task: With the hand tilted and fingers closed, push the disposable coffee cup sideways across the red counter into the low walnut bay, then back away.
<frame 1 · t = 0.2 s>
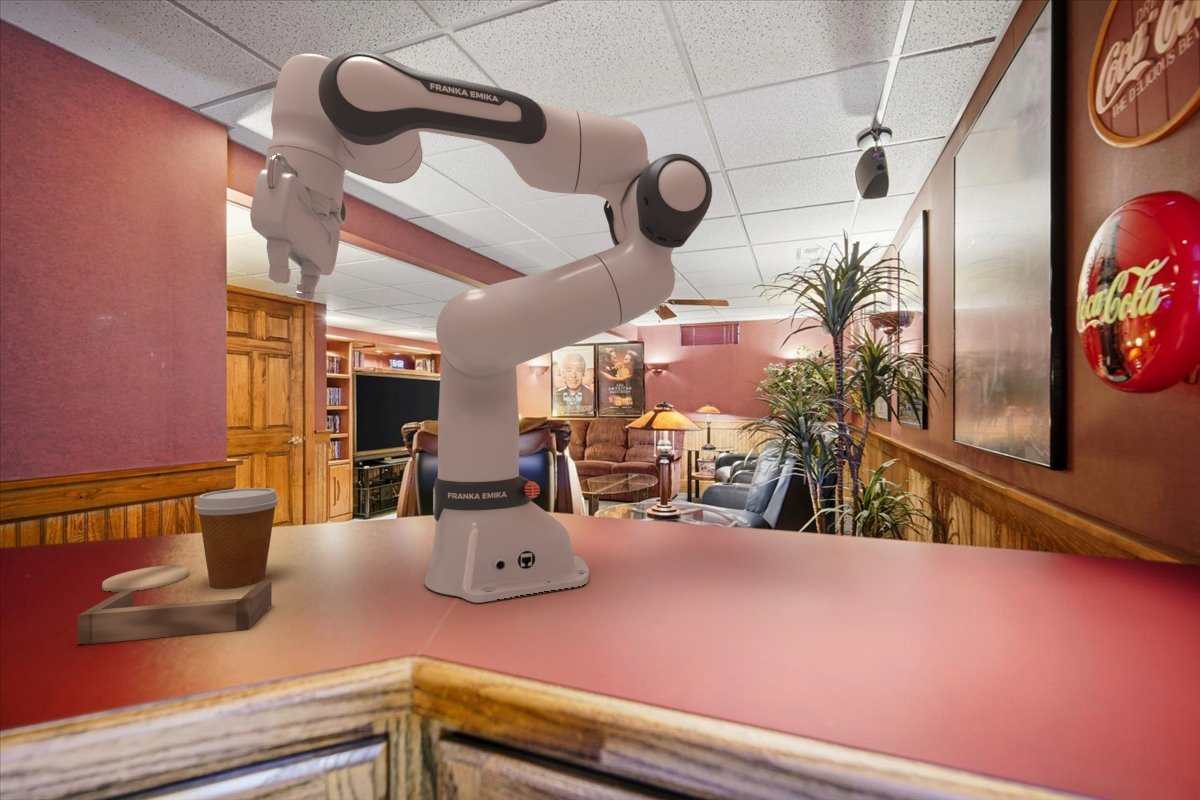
hand: (292, 291, 67), 39 cm above the bar counter, tool pointing down, fingers open, 8 cm apart
cork coaster: (147, 580, 72), on the bar counter
disposable coffee cup: (238, 582, 72), on the bar counter
walnut bay: (187, 620, 59), on the bar counter
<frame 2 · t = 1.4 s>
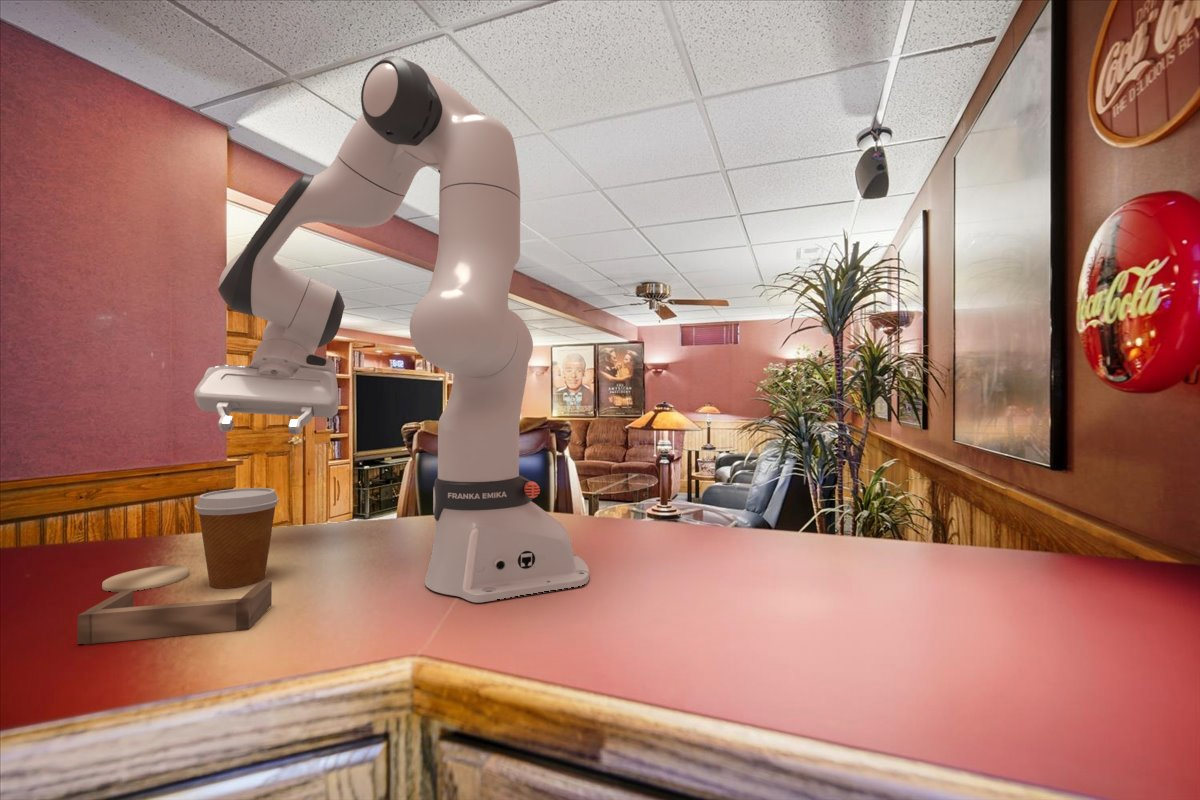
hand: (259, 430, 82), 20 cm above the bar counter, tool tilted 45°, fingers open, 8 cm apart
nothing on the bar counter moved.
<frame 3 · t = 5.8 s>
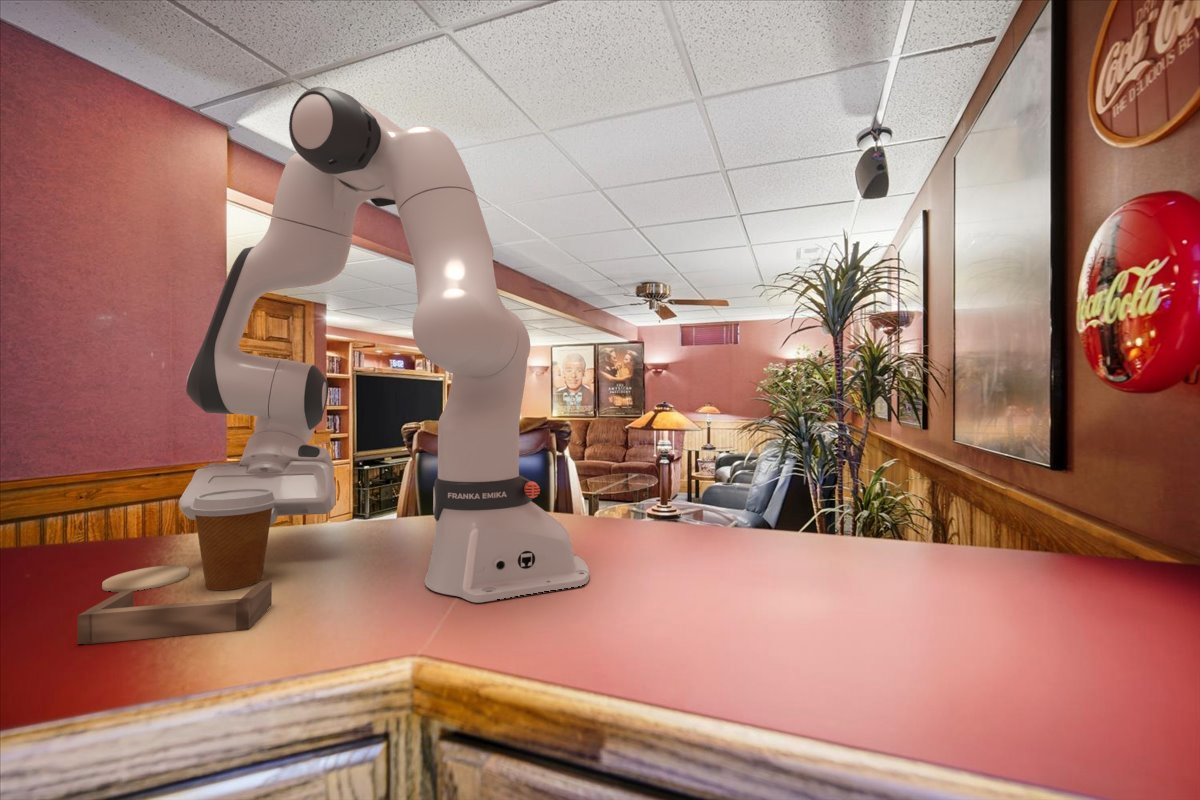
hand: (248, 539, 75), 5 cm above the bar counter, tool tilted 45°, fingers closed, pressing on disposable coffee cup
disposable coffee cup: (234, 583, 71), on the bar counter, touching gripper
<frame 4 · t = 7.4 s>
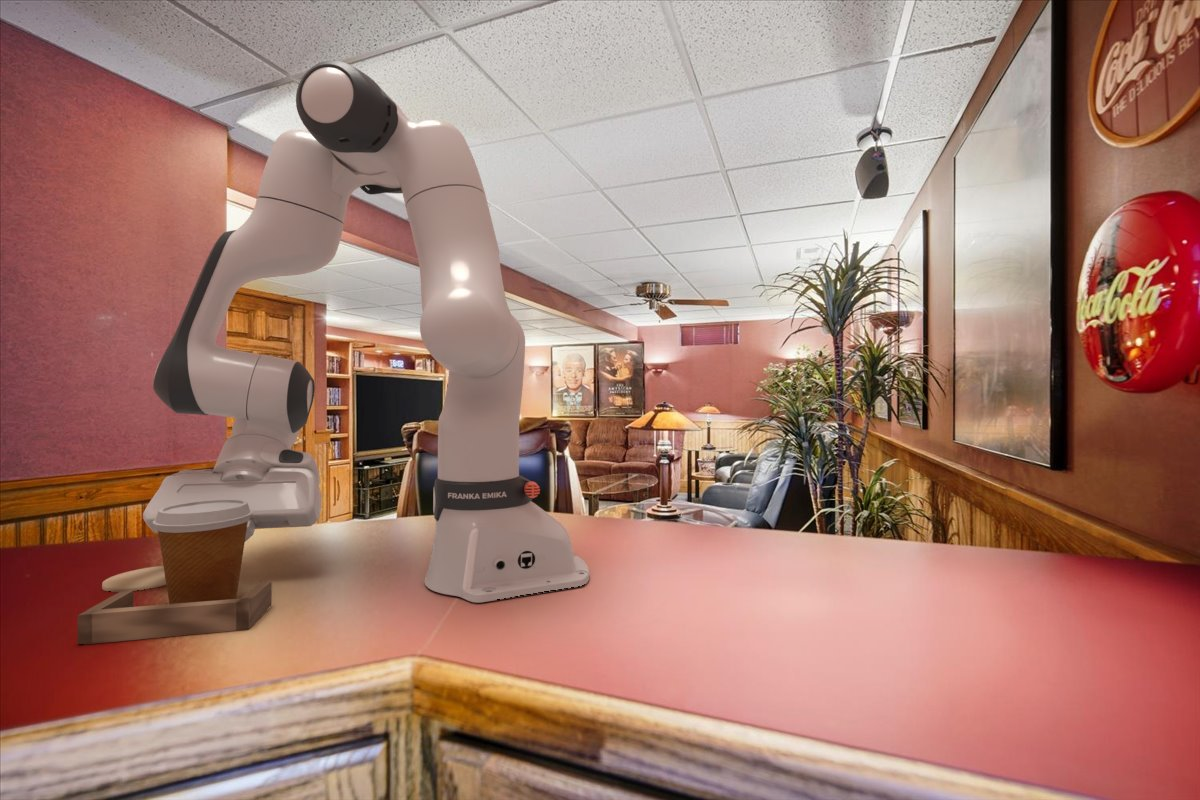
hand: (220, 555, 67), 5 cm above the bar counter, tool tilted 45°, fingers closed, pressing on disposable coffee cup
disposable coffee cup: (204, 607, 63), on the bar counter, touching gripper
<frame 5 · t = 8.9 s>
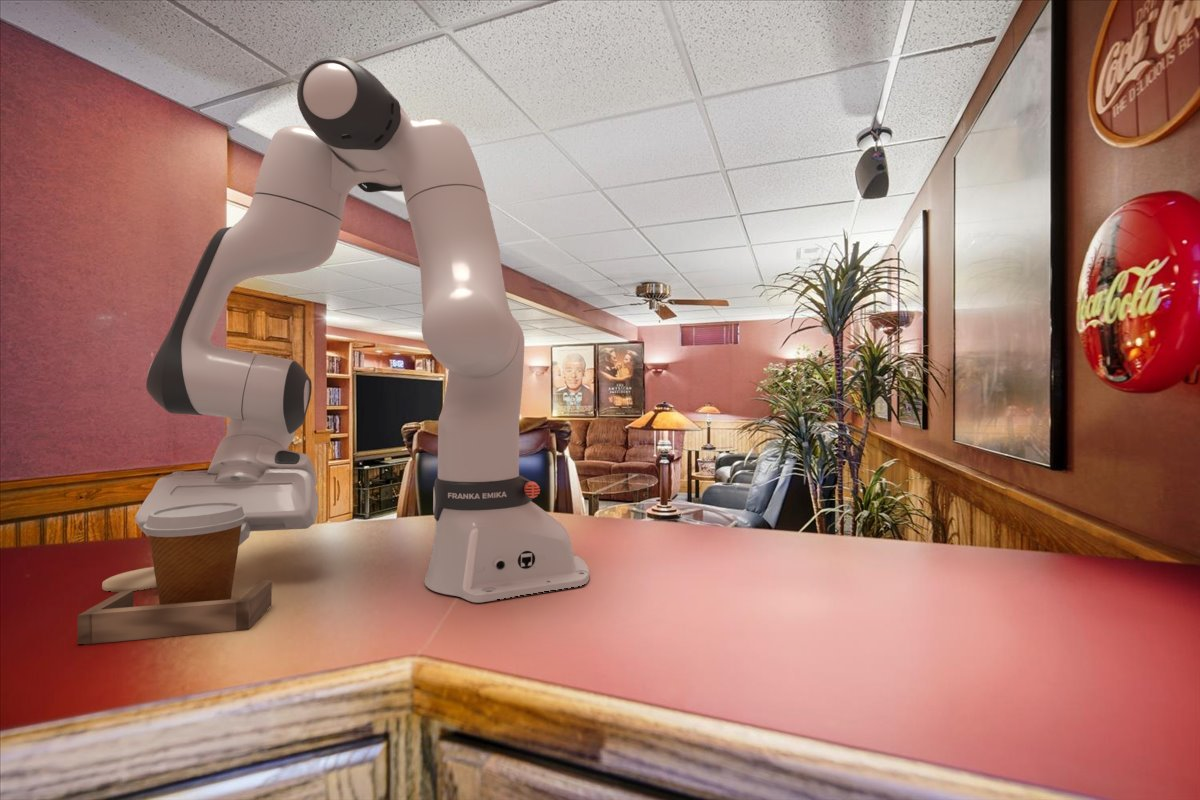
hand: (215, 559, 65), 5 cm above the bar counter, tool tilted 45°, fingers closed
disposable coffee cup: (196, 613, 61), on the bar counter
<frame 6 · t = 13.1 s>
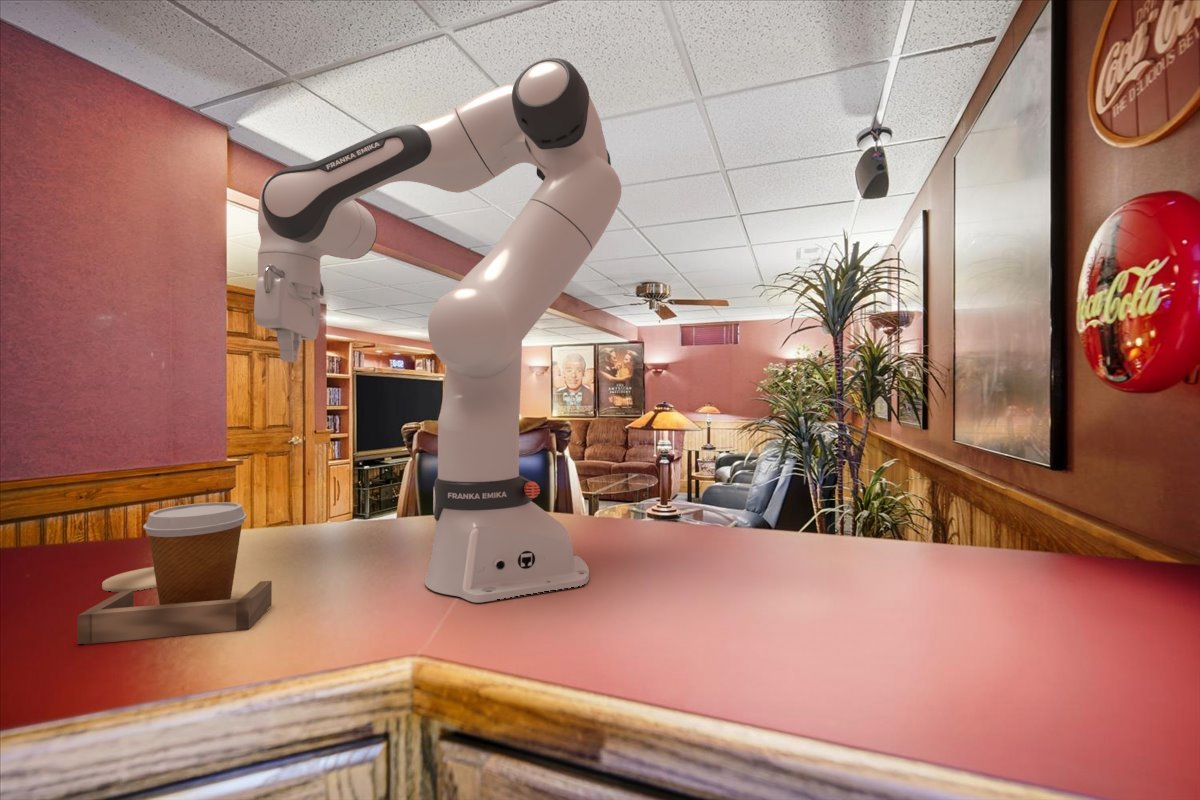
hand: (289, 361, 86), 31 cm above the bar counter, tool pointing down, fingers closed
nothing on the bar counter moved.
at the end: disposable coffee cup inside the target area on the walnut bay (0.8 cm from its centre), point 0.0 cm above the walnut bay's base; disposable coffee cup tilted 0° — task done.
